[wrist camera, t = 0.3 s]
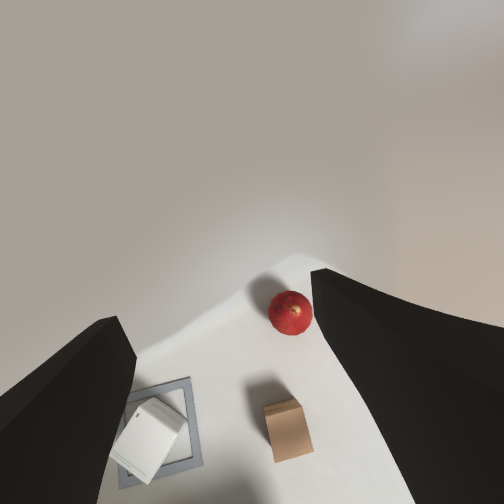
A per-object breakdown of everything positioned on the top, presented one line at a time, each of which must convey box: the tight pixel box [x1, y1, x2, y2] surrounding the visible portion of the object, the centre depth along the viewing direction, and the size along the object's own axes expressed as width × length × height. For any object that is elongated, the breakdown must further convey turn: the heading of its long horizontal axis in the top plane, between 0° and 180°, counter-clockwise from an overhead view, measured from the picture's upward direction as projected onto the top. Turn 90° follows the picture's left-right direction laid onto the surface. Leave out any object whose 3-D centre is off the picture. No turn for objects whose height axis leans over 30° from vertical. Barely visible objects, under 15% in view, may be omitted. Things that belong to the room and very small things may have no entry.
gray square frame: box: [117, 378, 203, 489], centre depth 32 cm, size 10×10×1 cm
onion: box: [268, 291, 313, 335], centre depth 33 cm, size 6×6×8 cm
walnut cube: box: [263, 398, 314, 463], centre depth 31 cm, size 4×4×4 cm
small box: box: [109, 397, 187, 485], centre depth 30 cm, size 6×6×5 cm
